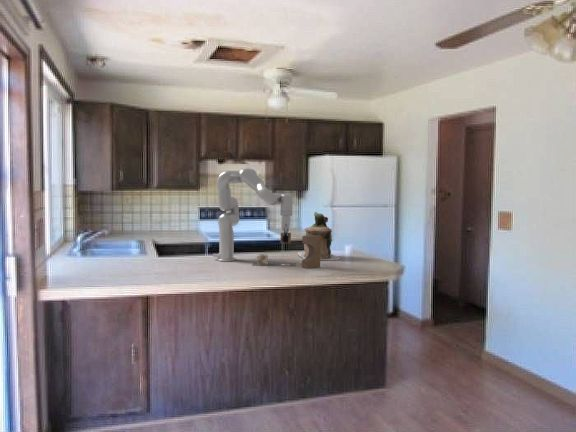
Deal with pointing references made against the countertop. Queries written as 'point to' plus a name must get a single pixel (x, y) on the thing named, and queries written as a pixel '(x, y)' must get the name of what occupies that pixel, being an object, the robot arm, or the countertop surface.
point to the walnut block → (288, 238)
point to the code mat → (276, 264)
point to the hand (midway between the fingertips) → (285, 240)
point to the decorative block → (312, 251)
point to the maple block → (262, 259)
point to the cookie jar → (326, 238)
